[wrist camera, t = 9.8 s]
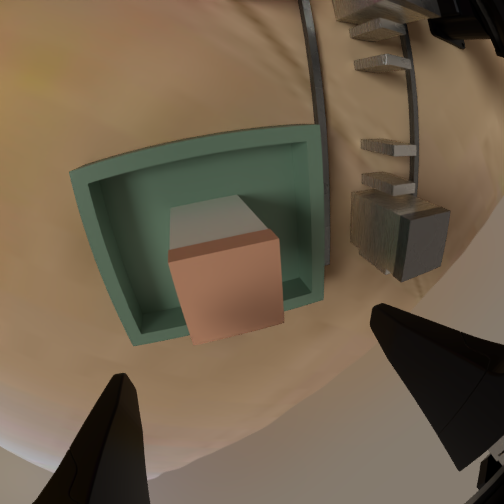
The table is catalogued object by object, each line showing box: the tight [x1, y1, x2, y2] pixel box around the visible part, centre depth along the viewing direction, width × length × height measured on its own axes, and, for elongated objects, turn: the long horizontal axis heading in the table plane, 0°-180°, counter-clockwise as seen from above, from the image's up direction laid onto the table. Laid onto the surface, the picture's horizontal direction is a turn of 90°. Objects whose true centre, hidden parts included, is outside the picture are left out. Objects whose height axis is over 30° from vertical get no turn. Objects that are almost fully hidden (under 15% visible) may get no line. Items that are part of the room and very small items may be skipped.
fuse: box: [168, 195, 284, 345], centre depth 16 cm, size 5×5×8 cm
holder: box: [298, 0, 450, 282], centre depth 16 cm, size 11×26×7 cm, turn 7°
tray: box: [69, 124, 325, 346], centre depth 18 cm, size 15×13×3 cm
